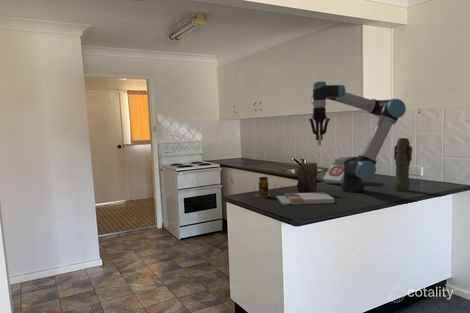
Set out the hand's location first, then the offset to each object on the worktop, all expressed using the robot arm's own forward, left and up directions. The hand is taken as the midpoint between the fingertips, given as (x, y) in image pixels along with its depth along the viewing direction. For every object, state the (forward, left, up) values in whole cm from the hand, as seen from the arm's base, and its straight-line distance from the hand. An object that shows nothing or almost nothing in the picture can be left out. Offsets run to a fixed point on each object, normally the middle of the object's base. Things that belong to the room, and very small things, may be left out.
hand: (319, 145), depth 219 cm
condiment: (+35, -6, -32) cm, 48 cm away
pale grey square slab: (+6, +11, -32) cm, 34 cm away
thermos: (-60, -9, -32) cm, 69 cm away
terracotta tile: (+19, +15, -31) cm, 40 cm away
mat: (+21, +11, -32) cm, 40 cm away
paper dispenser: (-33, -45, -32) cm, 65 cm away
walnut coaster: (+19, +6, -31) cm, 37 cm away
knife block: (+4, -8, -32) cm, 34 cm away
